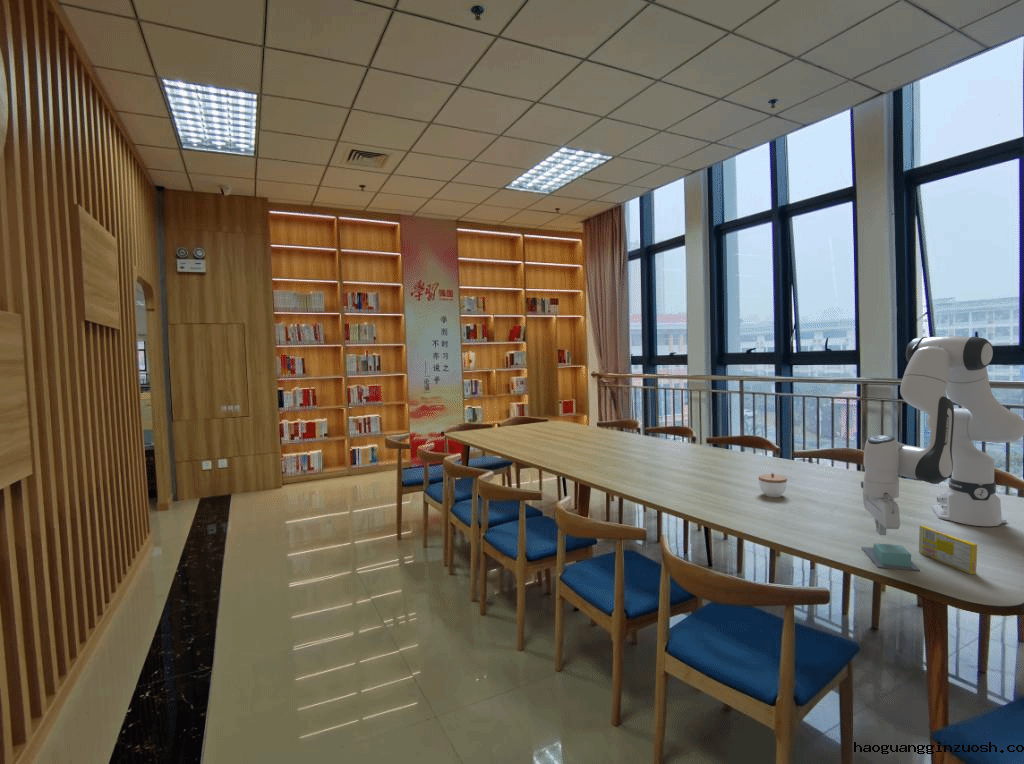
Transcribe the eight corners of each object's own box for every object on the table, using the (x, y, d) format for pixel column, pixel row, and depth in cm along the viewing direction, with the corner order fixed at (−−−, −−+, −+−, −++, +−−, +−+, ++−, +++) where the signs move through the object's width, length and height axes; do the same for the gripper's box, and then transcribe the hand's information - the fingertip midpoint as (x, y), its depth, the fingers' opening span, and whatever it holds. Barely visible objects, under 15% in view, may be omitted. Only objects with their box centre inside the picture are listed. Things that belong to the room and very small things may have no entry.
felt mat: (861, 548, 161) (861, 546, 161) (900, 551, 158) (900, 549, 158) (877, 567, 147) (877, 566, 147) (920, 571, 144) (920, 569, 144)
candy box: (977, 574, 141) (978, 544, 140) (970, 575, 141) (971, 544, 140) (924, 551, 157) (924, 524, 157) (917, 552, 157) (918, 525, 156)
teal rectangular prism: (873, 543, 155) (881, 552, 148) (901, 545, 152) (911, 554, 146) (873, 554, 155) (881, 564, 148) (901, 557, 152) (911, 566, 146)
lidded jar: (780, 491, 225) (780, 470, 224) (791, 498, 214) (791, 476, 214) (754, 492, 226) (754, 470, 225) (764, 499, 215) (764, 476, 215)
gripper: (906, 499, 148) (906, 547, 149) (881, 481, 167) (881, 523, 168) (880, 498, 150) (880, 545, 151) (859, 480, 169) (859, 522, 170)
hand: (881, 533), depth 160 cm, fingers closed
